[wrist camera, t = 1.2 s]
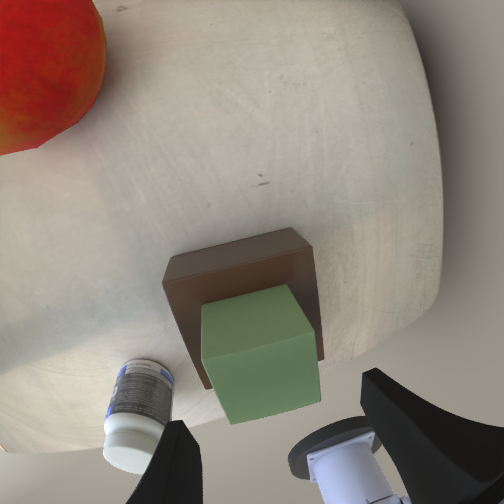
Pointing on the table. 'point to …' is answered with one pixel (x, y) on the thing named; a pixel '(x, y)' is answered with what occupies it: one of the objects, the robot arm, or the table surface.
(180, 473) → the robot arm
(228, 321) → the green block
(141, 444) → the pill bottle
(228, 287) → the walnut base
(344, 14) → the table surface
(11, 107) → the apple
